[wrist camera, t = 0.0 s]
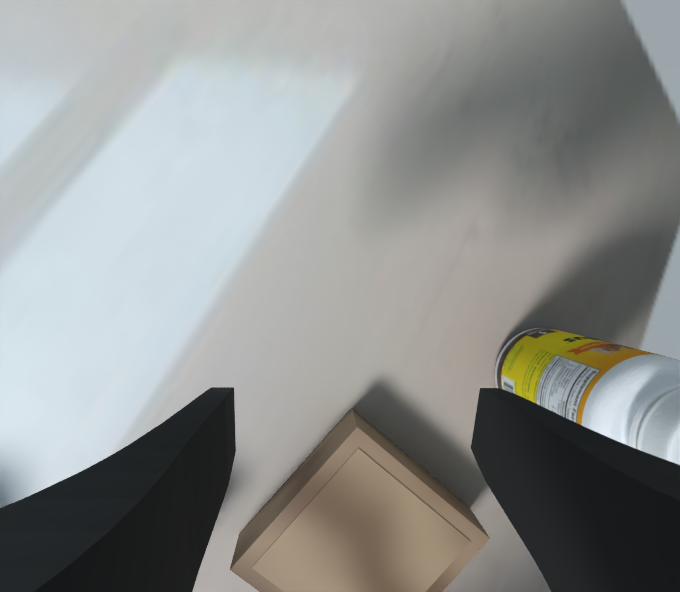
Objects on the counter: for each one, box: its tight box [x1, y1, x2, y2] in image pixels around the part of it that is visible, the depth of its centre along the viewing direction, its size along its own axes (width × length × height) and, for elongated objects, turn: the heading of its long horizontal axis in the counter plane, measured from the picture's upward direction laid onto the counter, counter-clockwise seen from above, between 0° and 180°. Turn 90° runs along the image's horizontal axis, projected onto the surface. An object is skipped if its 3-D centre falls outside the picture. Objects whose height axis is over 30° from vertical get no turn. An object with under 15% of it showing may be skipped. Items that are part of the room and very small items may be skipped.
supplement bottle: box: [495, 328, 680, 465], centre depth 17 cm, size 6×6×10 cm
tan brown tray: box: [230, 408, 490, 592], centre depth 21 cm, size 10×10×3 cm
